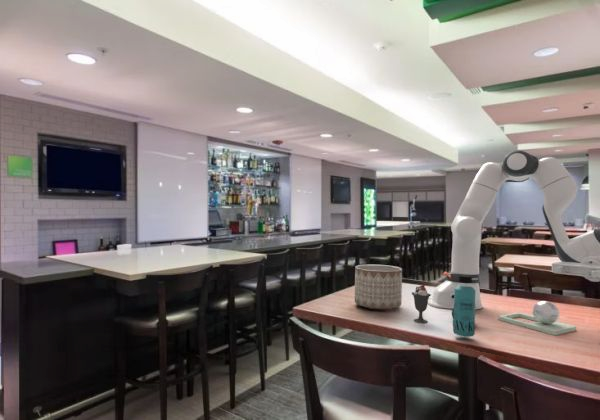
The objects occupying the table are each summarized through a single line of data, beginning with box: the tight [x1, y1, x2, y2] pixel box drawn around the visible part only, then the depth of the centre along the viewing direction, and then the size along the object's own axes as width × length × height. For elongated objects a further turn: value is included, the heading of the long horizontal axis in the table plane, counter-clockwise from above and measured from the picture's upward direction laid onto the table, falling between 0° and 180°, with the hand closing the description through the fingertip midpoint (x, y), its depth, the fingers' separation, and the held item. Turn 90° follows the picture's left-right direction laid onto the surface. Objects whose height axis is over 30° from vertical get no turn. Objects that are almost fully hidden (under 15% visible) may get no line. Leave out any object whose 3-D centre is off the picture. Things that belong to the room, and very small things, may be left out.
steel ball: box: [532, 300, 560, 324], centre depth 131 cm, size 8×8×8 cm
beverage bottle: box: [452, 275, 476, 338], centre depth 118 cm, size 6×7×20 cm
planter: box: [354, 264, 403, 311], centre depth 156 cm, size 19×19×16 cm
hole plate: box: [497, 312, 577, 336], centre depth 134 cm, size 20×13×1 cm, turn 28°
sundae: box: [411, 280, 432, 324], centre depth 136 cm, size 7×7×15 cm
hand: (574, 272), depth 124 cm, fingers open, 8 cm apart
